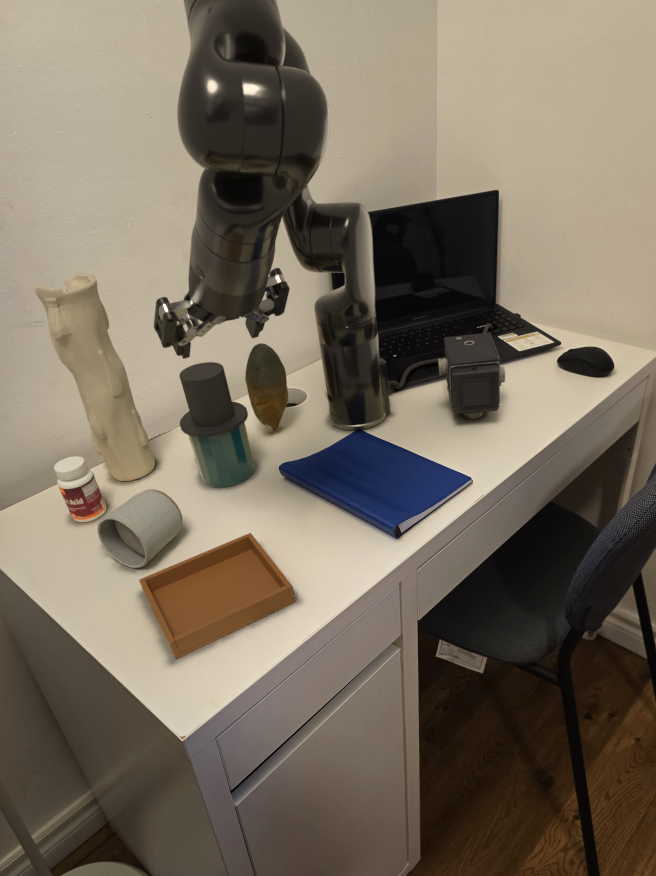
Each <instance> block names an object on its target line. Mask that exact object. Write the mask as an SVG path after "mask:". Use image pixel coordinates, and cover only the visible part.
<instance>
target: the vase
mask: <svg viewBox="0 0 656 876" xmlns="http://www.w3.org/2000/svg"><path fill="white" fill-rule="evenodd" d="M63 282H64V285H65V289H66V290H63V289H61V288H60V287H53V286H49V285H44V284H40V285H37V286H36V287H35V288H34V292H35V294H36V297H37V298H38V299H39V301H40V302H41V303H42V305H43V308H44V310H45V313H46V318H47V322H48V323H47V324H48V331H49V337H50V341H51V344H52V346H53V349H54V350H55V353H56V354H57V356H58V358H59V360H60V362H61V363H62V364H63V365H64V366H65V367H66V369H68V371H69V372H70V373H71V374H72V376H73V378H74V381H75V384H76V387H77V390H78V393H79V397H80V399H81V402H82V405H83V408H84V412H85V415H86V419H87V421H88V424H89V427H90V430H91V431H90V434H91V441H92V445H93V449H94V452H95V454H96V455H98V456H101V457H102V458H103V460H104V463H105V465H106V468H107V470H108V473H109V475H111V477H112V478H113V479H115V480H116V481H119V482H129V481H134V480H137V479H141V478H143V477H145V476H147V475H148V474H150V473H151V472H152V471H153V470H154V468H155V466H156V460H155V459H156V458H155V457H154V454H153V452H152V449H151V447H150V444H149V441H150V440H149V435H148V434H147V433H148V432H147V431H146V429H145V428H144V425H143V422H142V419H141V415H140V414H139V412H138V410H137V408H136V404H135V401H134V396H133V393H132V389H131V385H130V382H129V378H128V373H127V370H126V368H125V365H124V363H123V361H122V359H121V357H120V356H119V354H118V352H117V351H116V349H115V347H114V345H113V343H112V340H111V337H110V334H109V331H108V330H109V329H110V321H109V316H108V313H107V311H106V308H105V306H104V304H103V302H102V300H101V298H100V295H99V290H98V289H99V288H98V280H97V279H96V275H95V274H91V273H87V272H79V273H75V275H74V276H71V277H67V278H64V279H63Z"/></svg>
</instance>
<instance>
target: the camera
mask: <svg viewBox="0 0 656 876" xmlns="http://www.w3.org/2000/svg"><path fill="white" fill-rule="evenodd" d="M443 342H444V343H443V344H444V357H445V358H443V357H442V358H443V359H438V363H437V365H438V366H437V367H438V375H439V376H445V380H446V386H447V387H446V388H447V391H448V398H449V403H450V409H452V412H453V414H455V415H456V414H457V415H462V414H463V416H464V417H465V418H468V419H478V418H480V417H482V416H483V415H484V413H487V412H495V411H498V410H499V408H501V406H500V401H501V396H500V395H501V387H502V383H505V382H506V369H505V366H501V364H500V360H501V359H500V356H501V355H500V354H499V351H498V349H497V346H496V343H495V341H494V339H493V335H492V333H491V332H490V331H489V332H487V333H483V332H482V333H473V334H464V335H455V336H454V335H453V336H445V337H443Z"/></svg>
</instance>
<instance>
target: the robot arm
mask: <svg viewBox="0 0 656 876" xmlns="http://www.w3.org/2000/svg"><path fill="white" fill-rule="evenodd" d="M183 4H184V10H185V11H184V13H185V17H186V22H187V28H188V35H189V44H190V45H189V49H190V50H189V55H188V58H187V61H186V63H185V68H184V71H183V75H182V78H181V81H180V82H181V83H180V87H179V93H178V99H177V107H176V108H177V109H176V110H177V111H176V112H177V114H176V121H177V129H178V133H179V138H180V141H181V143H182V146H183V147H184V149H185V151H186V153H187V154H188V156H189V157H190V158H191V159H192V160H193V161H194V162H195V163H196V164H197V165H198V166H200V167H201V168H202V169H203V171H202V172H201V175H200V177H199V181H198V185H197V186H198V187H197V197H196V211H195V220H194V224H193V227H192V231H191V232H192V233H191V237H190V253H189V264H188V265H189V266H188V278H187V279H188V280H187V281H188V291H187V293H186V294H185V295H184V297H183V299H182V300H178V301H174V302H170V300H169V298H168V297H166V296H161V297H159V298H157V299H156V301H155V308H154V318H153V319H154V320H153V329H154V331H155V332H156V334H157V336H158V339H159V341H160V344H161V346H162V348H163V349H167V348H168V349H169V348H170V347H172V348H173V350H174V352H175V355H176V356H178V357H180V356H181V358H182V359H183V360H184V359H185V360H186V359H189V358H190V357H191V347H192V341H193V340H194V339H195V338H197V337H200V338H202V337H204V336H205V335H206V334H208V332H209V331H211V329H213V328H214V327H215V326H217V325H221V324H222V323H224V322H225V323H226V322H229V321H234V320H238V319H240V318H245V321H244V324H245V328H246V329H247V332H248V334H249V335H250V337H251V339H256V338H259V336H260V333H262V332H263V330H264V328H265V324H266V322H268V321H269V320H270V316H272V315H274V316H275V317H280V316H282V315H283V314H284V313H285V311H286V307H287V302H288V298H289V294H290V289H291V288H290V286H289V284H288V282H287V280H286V277H285V276H284V274H283V271H282V269H281V268H280V267H276V268H273V263H274V259H275V254H276V242H277V241H276V240H277V237H278V233H279V229H280V225H281V222H282V223H283V225H284V229H285V231H286V235H287V237H288V240H289V243H290V246H291V249H292V251H293V254H294V256H295V257H296V258H295V259H296V260H297V262H298V263H299V265H300V266H301V268H302V269H304V270H306V271H307V272H311V273H318V274H319V273H321V274H322V273H324V274H325V273H326V274H328V273H329V274H331V273H333V274H335V273H338V274H341V273H343V274H344V285H342V286H340V287H338V288H336V289H333V290H330V291H328V292H325V293H324V294H322V295H320V296H319V297H318V298H317V299H316V300H315V302H314V305H313V310H314V319H315V323H316V330H317V337H318V342H319V343H318V344H319V350H320V357H321V363H322V370H323V377H324V384H325V390H324V392H325V393H324V394H325V398H326V400H327V403H328V404H327V405H328V412H329V420H330V423H331V424H332V425H333V426H334V427H336V428H338V429H342V430H346V431H347V430H348V431H357V430H366V429H370V428H373V427H375V426H378V424H381V423H382V422H383V421H384V420H385V418H386V417H387V416H391V414H392V413H391V403H390V401H391V400H390V397H391V396H392V393H391V392H392V391H391V386H394V388H395V389H396V390H401V389H402V388H403V387H404V385H405V383H406V379H407V378H408V376H409V374H411V372H412V371H413V370H415V369H417V368H419V367H423V366H428V365H432V364H438V359H443V358H445V356H444V357H437V358H431V359H426V360H421V361H419V362H416V363H413V364H411V365H410V366H408V367H407V368H406V369H405V370H404V371H403V374H402V376H401V378H400V381H399V382H398V381H397V380H393V379H392V380H388V370H387V361H386V360H385V359H383V358H382V357H381V350H380V340H379V339H380V338H379V332H378V331H379V329H378V319H377V310H376V280H375V278H376V277H375V264H374V240H373V239H374V237H373V228H372V221H371V218H370V214H369V212H368V209H367V208H366V206H365V205H364V204H363V203H361V202H357V201H356V202H352V201H350V202H349V201H348V202H320V203H318V202H316V201H315V199H314V198H313V196H312V195H311V192H310V189H309V183H310V182H311V180H312V178H313V177H314V176H315V174H316V173H317V171H318V169H319V167H320V165H321V163H322V162H323V158H324V155H325V152H326V150H327V147H328V142H329V138H330V134H331V133H330V132H331V111H330V106H329V101H328V99H327V95H326V93H325V91H324V89H323V87H322V85H321V84H320V82H319V81H318V80H317V79H316V78H315V77H314V76H313V74H311V71H310V68H309V64H308V61H307V59H306V55H305V52H304V51H303V49H302V47H301V45H300V44H299V43H298V41H297V40H296V39H295V38H294V36H293V35H292V34H291V33H290V32H289V31H288V30H287V29H286V28H285V27H284V26H283V22H282V19H281V14H280V9H279V4H278V1H277V0H183ZM272 268H273V269H272ZM264 297H265V299H264ZM200 322H201V323H200ZM185 325H186V327H187V330H186V329H185V327H184V326H185ZM492 329H494V327H493V325H492V324H491V323H486V324H485V325H484V328H483V330H482V333H488V331H489V330H492Z"/></svg>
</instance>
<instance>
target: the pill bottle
mask: <svg viewBox="0 0 656 876" xmlns="http://www.w3.org/2000/svg"><path fill="white" fill-rule="evenodd" d="M53 471H54V473H55V476H56V477H57V480H56V484H57V487H58V489H59V491H60V494H61V496H62V498H63V500H64V503H65V505H66V508H67V509H68V512H69V514H70V516H71V519H73V521H75V522H77V523H88V522H93V521H95V520H98V519H99V518H100V517H102V516H103V515H104V514H105V513H106V511H107V504H106V502H105V499H104V497H103V495H102V492H101V489H100V486H99V485H98V482H97V479H96V477H95V473H94V472H93V470H92V469H90V468H88V465H87V463H86V459H84V457H82V456H80V455H79V456H78V455H77V456H76V455H75V456H69V457H65V458H63V459H61V460H59V461H58V462H56V463H55V465H54V466H53Z"/></svg>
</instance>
